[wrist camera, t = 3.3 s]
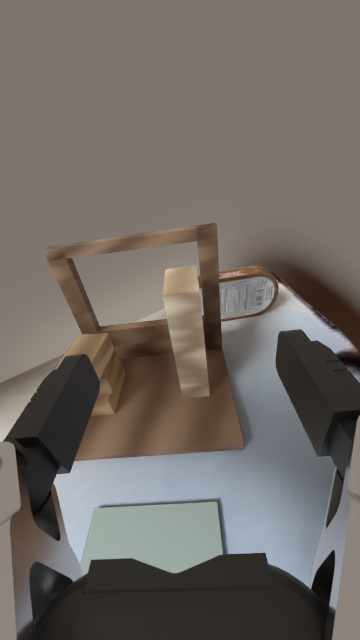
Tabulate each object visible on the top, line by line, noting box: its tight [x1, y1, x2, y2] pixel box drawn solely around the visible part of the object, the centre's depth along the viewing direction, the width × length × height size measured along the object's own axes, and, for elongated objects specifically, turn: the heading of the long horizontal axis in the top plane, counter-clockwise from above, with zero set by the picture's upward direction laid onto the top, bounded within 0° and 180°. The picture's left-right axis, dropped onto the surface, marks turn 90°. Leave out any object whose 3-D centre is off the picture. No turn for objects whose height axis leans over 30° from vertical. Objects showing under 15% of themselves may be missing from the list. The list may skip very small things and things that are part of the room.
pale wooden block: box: [162, 266, 210, 398], centre depth 24 cm, size 3×6×13 cm, turn 0°
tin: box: [197, 266, 278, 321], centre depth 37 cm, size 15×3×8 cm, turn 95°
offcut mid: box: [98, 344, 118, 396], centre depth 26 cm, size 4×6×2 cm
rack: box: [43, 223, 244, 461], centre depth 23 cm, size 18×14×17 cm
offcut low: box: [91, 360, 125, 416], centre depth 27 cm, size 4×6×2 cm, turn 0°
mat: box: [80, 502, 223, 575], centre depth 14 cm, size 10×10×1 cm
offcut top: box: [55, 333, 114, 381], centre depth 24 cm, size 4×5×2 cm
